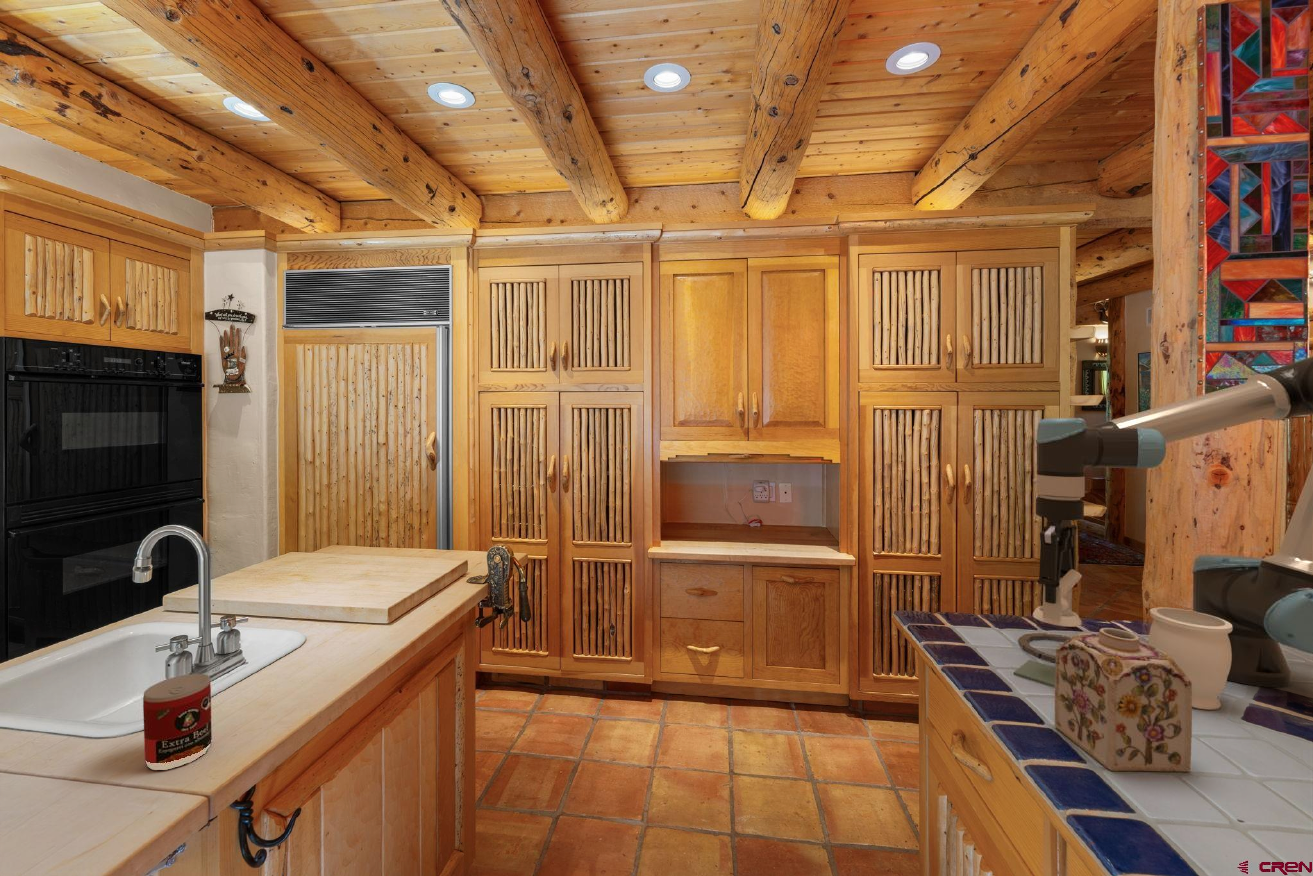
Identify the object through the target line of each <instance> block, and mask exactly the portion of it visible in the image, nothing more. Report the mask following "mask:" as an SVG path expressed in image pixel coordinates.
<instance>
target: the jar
mask: <svg viewBox="0 0 1313 876" xmlns="http://www.w3.org/2000/svg"><path fill="white" fill-rule="evenodd" d="M1149 614H1150V617H1151V618H1152V619H1153V621H1152V622H1151V625H1150V628H1149V635H1148V644H1149V645H1151V646H1153V647H1155V648H1157V649H1159V650H1161V651H1163V652H1165V653H1167V654H1169V655H1170V656H1171V658H1172V659H1173V660H1174V661H1175V663H1176V664H1177V665H1178V666H1179V667H1180V669H1181V670H1182V671H1183V672H1184V673H1185V675H1186V676H1187V677H1188V678H1189V680H1190V681H1191V683H1192V708H1193V709H1200V710H1218V709H1220V707H1221V702H1220V700H1219V699H1218V697H1220V695H1221V693H1223V691H1224V689H1225V687H1226V684H1227V681H1228V680H1227V677H1228V674H1229V671H1230V667H1231V661H1232V651H1231V644H1230V640H1229V637H1228V633H1230V632H1232V630H1233V628H1232V625H1231V624H1230V623H1229V622H1227V621H1225V620H1223V619H1220V618H1217V617H1214V616H1211V615H1208V614H1204V613H1199V612H1195V611H1193V610H1190V609H1185V608H1183V609H1182V608H1175V607H1163V606H1162V607H1153V608H1150V609H1149Z"/></svg>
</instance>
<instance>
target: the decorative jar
mask: <svg viewBox="0 0 1313 876" xmlns="http://www.w3.org/2000/svg"><path fill="white" fill-rule="evenodd" d="M1055 656H1056V663H1054V664H1055V665H1054V667H1055V687H1054V727H1055V729H1057V730H1058V731H1060V732H1061V733H1063V734H1064V735H1065V736H1066V737H1067V738H1068V739H1069V740H1071V741H1072V742H1073V743H1075V744H1076V745H1077V746H1078V747H1080V748H1081V750H1083V751H1085V752H1086V753H1087V754H1089V755H1090V756H1091V757H1093V758H1094V759H1095V760H1096V761H1097V762H1099V763H1100V764H1102V765H1103V766H1104V767H1105V768H1106V769H1108V770H1109V771H1112V772H1116V771H1117V772H1118V771H1119V772H1123V771H1124V772H1133V771H1135V772H1136V771H1137V772H1138V771H1139V772H1140V771H1141V772H1178V773H1179V772H1180V773H1182V772H1185V773H1189V772H1190V771H1191V764H1192V758H1191V757H1192V737H1193V735H1192V734H1193V733H1192V732H1193V730H1192V727H1193V726H1192V725H1193V724H1192V723H1193V722H1192V720H1193V710H1192V708H1193V707H1192V683H1191V681H1190V680H1189V678H1188V677H1187V676H1186V675H1185V673H1184V672H1183V671H1182V670H1181V669H1180V667H1179V666H1178V665H1177V664H1176V663H1175V661H1174V660H1173V659H1172V658H1171V656H1170V655H1169V654H1167V653H1165V652H1163V651H1161V650H1159V649H1157V648H1155V647H1153V646H1151V645H1149V643H1147V642H1145V641H1144V642H1143V641H1141V640H1140V637H1139V636H1138V635H1137V634H1135V633H1133V632H1130V631H1127V630H1122V629H1119V628H1112V627H1102V628H1100V629H1099V631H1098V632H1089V633H1088V632H1086V633H1085V632H1084V633H1077V634H1075V635H1074V636H1072V637H1071V638H1070V639H1069V640H1067V641H1066V642H1062V643H1061V644H1060V645H1059V646H1058V647H1057V648H1056V649H1055Z"/></svg>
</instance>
